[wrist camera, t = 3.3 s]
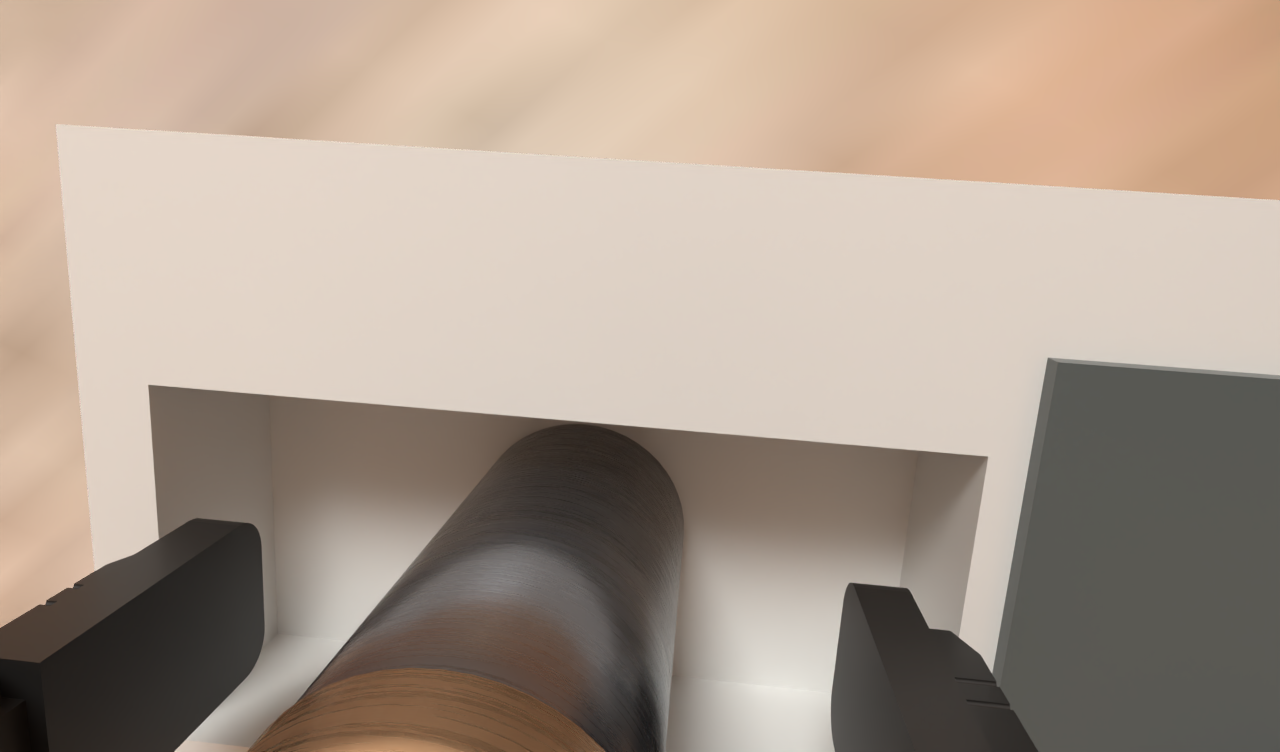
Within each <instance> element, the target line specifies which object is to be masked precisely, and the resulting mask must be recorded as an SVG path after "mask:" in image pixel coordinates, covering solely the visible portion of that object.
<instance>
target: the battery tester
mask: <svg viewBox="0 0 1280 752" xmlns="http://www.w3.org/2000/svg"><path fill="white" fill-rule="evenodd" d="M56 136H57V147H58V159H59V170H60V181H61V193H62V204H63V216H64V227H65V239H66V250H67V262H68V273H69V284H70V296H71V307H72V319H73V330H74V342H75V353H76V364H77V376H78V387H79V399H80V410H81V422H82V433H83V445H84V456H85V467H86V479H87V490H88V502H89V513H90V525H91V536H92V547H93V559H94V570H95V571H96V570H98V569H100V568H101V567H103V566H105V565H106V564H109V563H112V562H115V561H117V560H120V559H123V558H126V557H128V556H131V555H134V554H136V553H137V552H139V551H141V550H142V549H144V548H146V547H147V546H149V545H150V544H152V543H154V542H155V541H157V540H159V539H160V538H162V537H164V536H165V535H167V534H168V533H170V532H172V531H173V530H175V529H177V528H178V527H180V526H182V525H183V524H185V523H186V522H188V521H190V520H192V519H195V518H202V519H212V520H223V521H233V522H243V523H251V524H253V525H254V526H255V527H256V528H257V529H258V531H259V534H260V538H261V545H262V569H263V594H264V620H265V633H264V640H263V645H262V649H261V652H260V655H259V658H258V660H257V662H256V664H255V666H254V668H253V670H252V671H251V673H250V674H249V675H248V676H247V678H246V679H245V680H244V681H243V682H242V683H241V684H240V685H239V686H238V687H237V688H236V689H235V690H234V691H233V692H232V693H231V694H230V695H229V696H228V697H227V698H226V699H225V700H224V701H223V702H222V703H221V704H220V705H219V706H218V707H217V708H216V709H215V710H214V711H213V712H212V713H211V714H210V715H209V717H208V718H207V719H206V720H205V721H204V722H203V723H202V724H201V725H200V726H199V727H198V728H197V729H196V730H195V731H194V732H193V733H192V734H191V735H190V736H189V737H188V738H187V739H186V740H185V741H184V742H183V743H182V744H181V745H180V746H179V747H178V748H177V749H176V750H175V751H174V752H247V751H248V750H249V749H250V747H251V746H252V745H253V744H254V743H255V742H256V740H257V739H258V738H259V737H260V736H261V734H262V733H263V732H264V731H265V730H266V729H267V728H268V727H269V726H270V725H271V724H272V723H273V722H274V721H275V720H276V719H277V718H278V717H279V716H280V715H281V714H282V713H283V712H284V711H286V710H287V709H289V708H290V707H291V706H293V705H294V704H295V703H296V702H297V701H298V700H299V698H300V697H301V696H302V695H303V694H304V692H305V691H306V690H307V689H308V688H309V686H310V685H311V684H312V683H313V681H314V680H315V679H316V678H317V677H318V675H319V674H320V673H321V672H322V671H323V669H324V668H325V667H326V666H327V665H328V663H329V662H330V661H331V660H332V659H333V657H334V656H335V655H336V654H337V653H338V651H339V650H340V649H341V648H342V647H343V645H344V644H345V643H346V642H347V641H348V639H349V638H350V637H351V636H352V635H353V633H354V632H355V631H356V630H357V629H358V627H359V626H360V625H361V624H362V622H363V621H364V620H365V619H366V618H367V616H368V615H369V614H370V613H371V612H372V610H373V609H374V608H375V607H376V606H377V604H378V603H379V602H380V601H381V600H382V598H383V597H384V596H385V595H386V594H387V592H388V591H389V590H390V589H391V588H392V586H393V585H394V584H395V583H396V582H397V580H398V579H399V578H400V577H401V576H402V574H403V573H404V572H405V571H406V569H407V568H408V567H409V566H410V565H411V563H412V562H413V561H414V560H415V559H416V557H417V556H418V555H419V554H420V553H421V551H422V550H423V549H424V548H425V547H426V545H427V544H428V543H429V542H430V541H431V539H432V538H433V537H434V536H435V535H436V533H437V532H438V531H439V530H440V529H441V527H442V526H443V525H444V524H445V523H446V521H447V520H448V519H449V518H450V516H451V515H452V514H453V513H454V512H455V510H456V509H457V508H458V507H459V506H460V504H461V503H462V502H463V501H464V500H465V498H466V497H467V496H468V495H469V494H470V492H471V491H472V490H473V489H474V488H475V486H476V485H477V484H478V483H479V482H480V480H481V479H482V478H483V477H484V476H485V474H486V473H487V472H488V471H489V470H490V468H491V467H492V466H493V465H494V463H495V462H496V461H497V460H498V459H499V457H500V456H501V455H502V454H503V453H504V452H505V451H506V450H507V449H508V448H510V447H511V446H512V445H514V444H515V443H516V442H518V441H519V440H520V439H522V438H524V437H526V436H528V435H530V434H531V433H534V432H537V431H539V430H542V429H545V428H549V427H553V426H557V425H566V424H586V425H593V426H599V427H603V428H606V429H610V430H613V431H615V432H618V433H620V434H622V435H625V436H626V437H628V438H630V439H632V440H633V441H635V442H637V443H638V444H640V445H641V446H642V447H643V448H645V449H646V450H647V451H649V452H650V453H651V454H652V455H653V456H654V457H655V458H656V459H657V460H658V461H659V463H660V464H661V465H662V467H663V468H664V469H665V470H666V472H667V473H668V475H669V477H670V478H671V480H672V482H673V483H674V486H675V488H676V491H677V493H678V495H679V499H680V502H681V506H682V511H683V519H684V537H683V549H682V561H681V573H680V585H679V596H678V608H677V620H676V632H675V644H674V656H673V668H672V680H671V692H670V704H669V716H668V728H667V740H666V751H665V752H835V749H834V745H833V739H832V731H831V695H832V685H833V678H834V670H835V662H836V654H837V646H838V639H839V631H840V623H841V615H842V607H843V600H844V595H845V591H846V588H847V586H848V584H849V583H860V584H871V585H881V586H891V587H901V588H908V589H909V590H910V592H911V594H912V596H913V598H914V600H915V601H916V603H917V605H918V607H919V609H920V611H921V613H922V615H923V617H924V619H925V621H926V623H927V625H928V627H929V629H939V630H949V631H951V632H953V633H954V634H955V635H956V636H958V637H959V638H960V639H961V640H963V641H964V642H965V643H966V644H968V645H969V646H970V647H972V648H973V649H974V650H975V651H977V652H978V653H979V654H980V655H981V656H982V658H983V660H984V661H985V663H986V665H987V666H988V668H989V670H990V671H991V673H992V675H993V676H994V678H995V680H996V681H997V682H996V685H997V687H1000V688H1001V690H1002V691H1003V693H1004V695H1005V696H1006V698H1007V700H1008V701H1009V703H1010V710H1014V712H1015V713H1016V715H1017V717H1018V718H1019V720H1020V722H1021V723H1022V725H1023V727H1024V728H1025V730H1026V732H1027V733H1028V735H1029V737H1030V738H1031V740H1032V742H1033V743H1034V745H1035V747H1036V748H1037V750H1038V752H1280V200H1267V199H1251V198H1235V197H1219V196H1203V195H1187V194H1171V193H1154V192H1138V191H1122V190H1106V189H1090V188H1074V187H1058V186H1042V185H1026V184H1010V183H994V182H978V181H962V180H946V179H929V178H913V177H897V176H881V175H865V174H849V173H833V172H817V171H801V170H785V169H769V168H753V167H737V166H720V165H704V164H688V163H672V162H656V161H640V160H624V159H608V158H592V157H576V156H560V155H544V154H528V153H512V152H495V151H479V150H463V149H447V148H431V147H415V146H399V145H383V144H367V143H351V142H335V141H319V140H303V139H287V138H270V137H254V136H238V135H222V134H206V133H190V132H174V131H158V130H142V129H126V128H110V127H94V126H78V125H62V124H56Z"/></svg>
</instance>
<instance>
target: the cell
mask: <svg viewBox="0 0 1280 752" xmlns="http://www.w3.org/2000/svg"><path fill="white" fill-rule="evenodd" d="M683 537H684V519H683V511H682V506H681V502H680V499H679V495H678V493H677V491H676V488H675V486H674V483H673V482H672V480H671V478H670V477H669V475H668V473H667V472H666V470H665V469H664V468H663V467H662V465H661V464H660V463H659V461H658V460H657V459H656V458H655V457H654V456H653V455H652V454H651V453H650V452H649V451H647V450H646V449H645V448H643V447H642V446H641V445H640V444H638V443H637V442H635V441H633V440H632V439H630V438H628V437H626V436H625V435H622V434H620V433H618V432H615V431H613V430H610V429H606V428H603V427H599V426H593V425H586V424H566V425H557V426H553V427H549V428H545V429H542V430H539V431H537V432H534V433H531V434H530V435H528V436H526V437H524V438H522V439H520V440H519V441H518V442H516V443H515V444H514V445H512V446H511V447H510V448H508V449H507V450H506V451H505V452H504V453H503V454H502V455H501V456H500V457H499V459H498V460H497V461H496V462H495V463H494V465H493V466H492V467H491V468H490V470H489V471H488V472H487V473H486V474H485V476H484V477H483V478H482V479H481V480H480V482H479V483H478V484H477V485H476V486H475V488H474V489H473V490H472V491H471V492H470V494H469V495H468V496H467V497H466V498H465V500H464V501H463V502H462V503H461V504H460V506H459V507H458V508H457V509H456V510H455V512H454V513H453V514H452V515H451V516H450V518H449V519H448V520H447V521H446V523H445V524H444V525H443V526H442V527H441V529H440V530H439V531H438V532H437V533H436V535H435V536H434V537H433V538H432V539H431V541H430V542H429V543H428V544H427V545H426V547H425V548H424V549H423V550H422V551H421V553H420V554H419V555H418V556H417V557H416V559H415V560H414V561H413V562H412V563H411V565H410V566H409V567H408V568H407V569H406V571H405V572H404V573H403V574H402V576H401V577H400V578H399V579H398V580H397V582H396V583H395V584H394V585H393V586H392V588H391V589H390V590H389V591H388V592H387V594H386V595H385V596H384V597H383V598H382V600H381V601H380V602H379V603H378V604H377V606H376V607H375V608H374V609H373V610H372V612H371V613H370V614H369V615H368V616H367V618H366V619H365V620H364V621H363V622H362V624H361V625H360V626H359V627H358V629H357V630H356V631H355V632H354V633H353V635H352V636H351V637H350V638H349V639H348V641H347V642H346V643H345V644H344V645H343V647H342V648H341V649H340V650H339V651H338V653H337V654H336V655H335V656H334V657H333V659H332V660H331V661H330V662H329V663H328V665H327V666H326V667H325V668H324V669H323V671H322V672H321V673H320V674H319V675H318V677H317V678H316V679H315V680H314V681H313V683H312V684H311V685H310V686H309V688H308V689H307V690H306V691H305V692H304V694H303V695H302V696H301V697H300V698H299V700H298V701H297V702H296V703H295V704H294V705H293V706H291V707H290V708H289V709H287V710H286V711H284V712H283V713H282V714H281V715H280V716H279V717H278V718H277V719H276V720H275V721H274V722H273V723H272V724H271V725H270V726H269V727H268V728H267V729H266V730H265V731H264V732H263V733H262V734H261V736H260V737H259V738H258V739H257V740H256V742H255V743H254V744H253V745H252V746H251V747H250V749H249V750H248V751H247V752H665V751H666V740H667V728H668V716H669V704H670V692H671V680H672V668H673V656H674V644H675V632H676V620H677V608H678V596H679V585H680V573H681V561H682V549H683Z"/></svg>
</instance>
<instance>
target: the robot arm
mask: <svg viewBox="0 0 1280 752" xmlns="http://www.w3.org/2000/svg"><path fill="white" fill-rule="evenodd" d="M264 633H265V620H264V594H263V569H262V545H261V538H260V534H259V531H258V529H257V528H256V527H255V526H254V525H253V524H251V523H243V522H233V521H223V520H212V519H202V518H195V519H192V520H190V521H188V522H186V523H185V524H183V525H182V526H180V527H178V528H177V529H175V530H173V531H172V532H170V533H168V534H167V535H165V536H164V537H162V538H160V539H159V540H157V541H155V542H154V543H152V544H150V545H149V546H147V547H146V548H144V549H142V550H141V551H139V552H137V553H136V554H134V555H131V556H128V557H126V558H123V559H120V560H117V561H115V562H112V563H109V564H106V565H105V566H103V567H101V568H100V569H98V570H96V571H95V572H93V573H91V574H90V575H88V576H86V577H85V578H83V579H81V580H80V581H78V582H76V583H75V584H74V587H73V588H66V589H65V590H63V591H61V592H60V593H58V594H56V595H55V596H53V597H51V598H50V599H48V600H47V602H46V604H45V605H38V606H36V607H35V608H33V609H31V610H30V611H28V612H26V613H25V614H23V615H21V616H20V617H18V618H16V619H15V620H13V621H11V622H10V623H8V624H6V625H5V626H3V627H1V628H0V752H174V751H175V750H176V749H177V748H178V747H179V746H180V745H181V744H182V743H183V742H184V741H185V740H186V739H187V738H188V737H189V736H190V735H191V734H192V733H193V732H194V731H195V730H196V729H197V728H198V727H199V726H200V725H201V724H202V723H203V722H204V721H205V720H206V719H207V718H208V717H209V715H210V714H211V713H212V712H213V711H214V710H215V709H216V708H217V707H218V706H219V705H220V704H221V703H222V702H223V701H224V700H225V699H226V698H227V697H228V696H229V695H230V694H231V693H232V692H233V691H234V690H235V689H236V688H237V687H238V686H239V685H240V684H241V683H242V682H243V681H244V680H245V679H246V678H247V676H248V675H249V674H250V673H251V671H252V670H253V668H254V666H255V664H256V662H257V660H258V658H259V655H260V652H261V649H262V645H263V640H264ZM996 682H997V681H996V680H995V678H994V676H993V675H992V673H991V671H990V670H989V668H988V666H987V665H986V663H985V661H984V660H983V658H982V656H981V655H980V654H979V653H978V652H977V651H975V650H974V649H973V648H972V647H970V646H969V645H968V644H966V643H965V642H964V641H963V640H961V639H960V638H959V637H958V636H956V635H955V634H954V633H953V632H951V631H949V630H939V629H929V627H928V625H927V623H926V621H925V619H924V617H923V615H922V613H921V611H920V609H919V607H918V605H917V603H916V601H915V600H914V598H913V596H912V594H911V592H910V590H909V589H908V588H901V587H891V586H881V585H871V584H860V583H849V584H848V586H847V588H846V591H845V595H844V600H843V607H842V615H841V623H840V631H839V639H838V646H837V654H836V662H835V670H834V678H833V685H832V695H831V731H832V739H833V745H834V749H835V752H1038V750H1037V748H1036V747H1035V745H1034V743H1033V742H1032V740H1031V738H1030V737H1029V735H1028V733H1027V732H1026V730H1025V728H1024V727H1023V725H1022V723H1021V722H1020V720H1019V718H1018V717H1017V715H1016V713H1015V712H1014V710H1010V703H1009V701H1008V700H1007V698H1006V696H1005V695H1004V693H1003V691H1002V690H1001V688H1000V687H997V685H996Z"/></svg>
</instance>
